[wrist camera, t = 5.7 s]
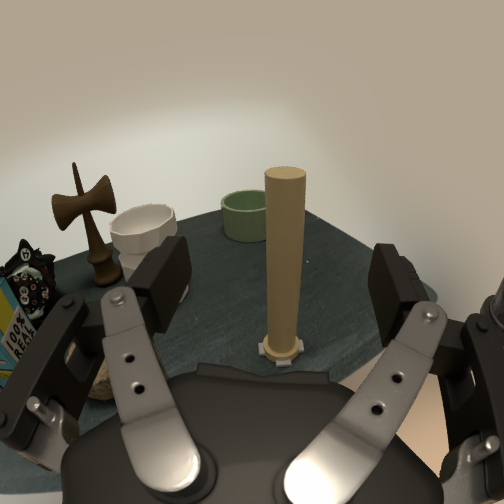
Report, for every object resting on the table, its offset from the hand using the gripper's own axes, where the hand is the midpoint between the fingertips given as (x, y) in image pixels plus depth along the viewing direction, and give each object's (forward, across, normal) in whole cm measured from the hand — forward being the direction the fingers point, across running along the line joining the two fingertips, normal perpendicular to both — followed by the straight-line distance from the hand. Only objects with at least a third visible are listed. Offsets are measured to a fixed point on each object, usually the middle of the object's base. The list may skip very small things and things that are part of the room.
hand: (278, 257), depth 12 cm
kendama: (+20, +29, +20) cm, 40 cm away
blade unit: (+10, 0, +20) cm, 22 cm away
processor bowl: (+38, +7, +20) cm, 43 cm away
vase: (+19, +18, +20) cm, 32 cm away
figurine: (+10, +38, +20) cm, 44 cm away
